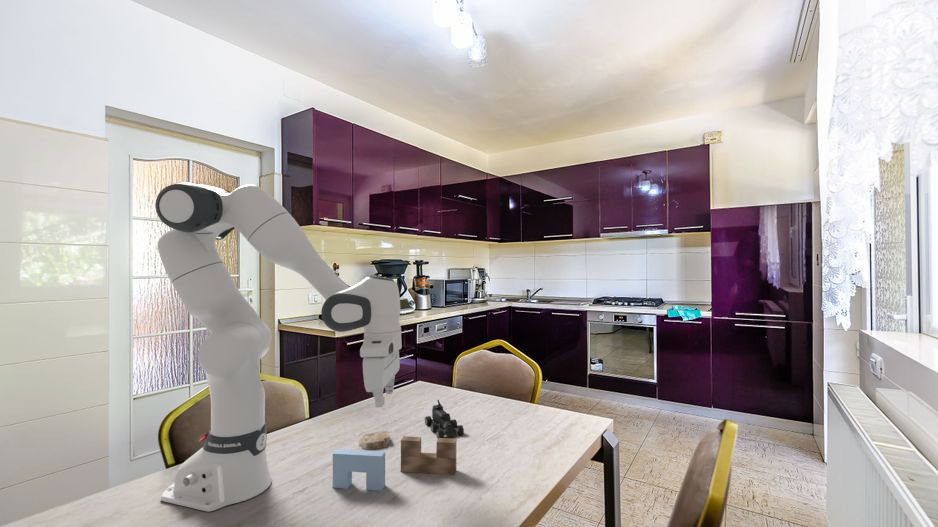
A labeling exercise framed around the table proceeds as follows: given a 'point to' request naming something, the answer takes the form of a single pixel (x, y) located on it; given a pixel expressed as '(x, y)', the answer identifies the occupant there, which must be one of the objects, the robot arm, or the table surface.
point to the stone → (374, 440)
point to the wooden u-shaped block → (428, 456)
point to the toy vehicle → (443, 423)
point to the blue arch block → (359, 468)
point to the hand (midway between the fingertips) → (385, 399)
